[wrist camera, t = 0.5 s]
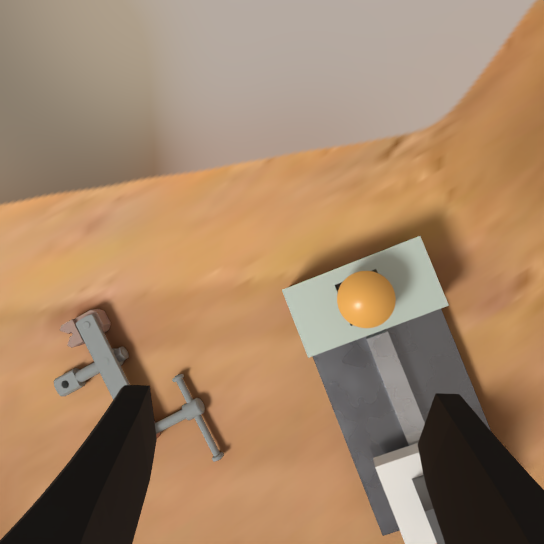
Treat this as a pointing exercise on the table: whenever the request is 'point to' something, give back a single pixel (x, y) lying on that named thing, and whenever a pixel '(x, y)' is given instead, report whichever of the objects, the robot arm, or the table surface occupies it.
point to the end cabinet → (389, 263)
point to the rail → (392, 393)
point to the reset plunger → (366, 299)
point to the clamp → (119, 371)
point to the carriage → (409, 495)
